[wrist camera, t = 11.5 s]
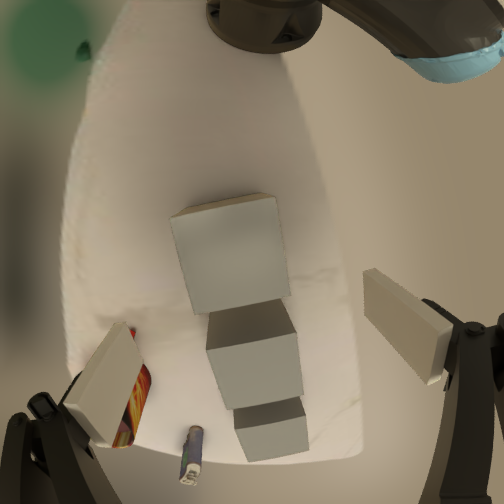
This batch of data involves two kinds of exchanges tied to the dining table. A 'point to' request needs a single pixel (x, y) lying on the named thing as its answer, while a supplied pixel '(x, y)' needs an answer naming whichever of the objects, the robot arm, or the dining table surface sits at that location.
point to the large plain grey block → (272, 429)
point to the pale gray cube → (254, 354)
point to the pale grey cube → (231, 252)
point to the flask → (192, 456)
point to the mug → (133, 409)
